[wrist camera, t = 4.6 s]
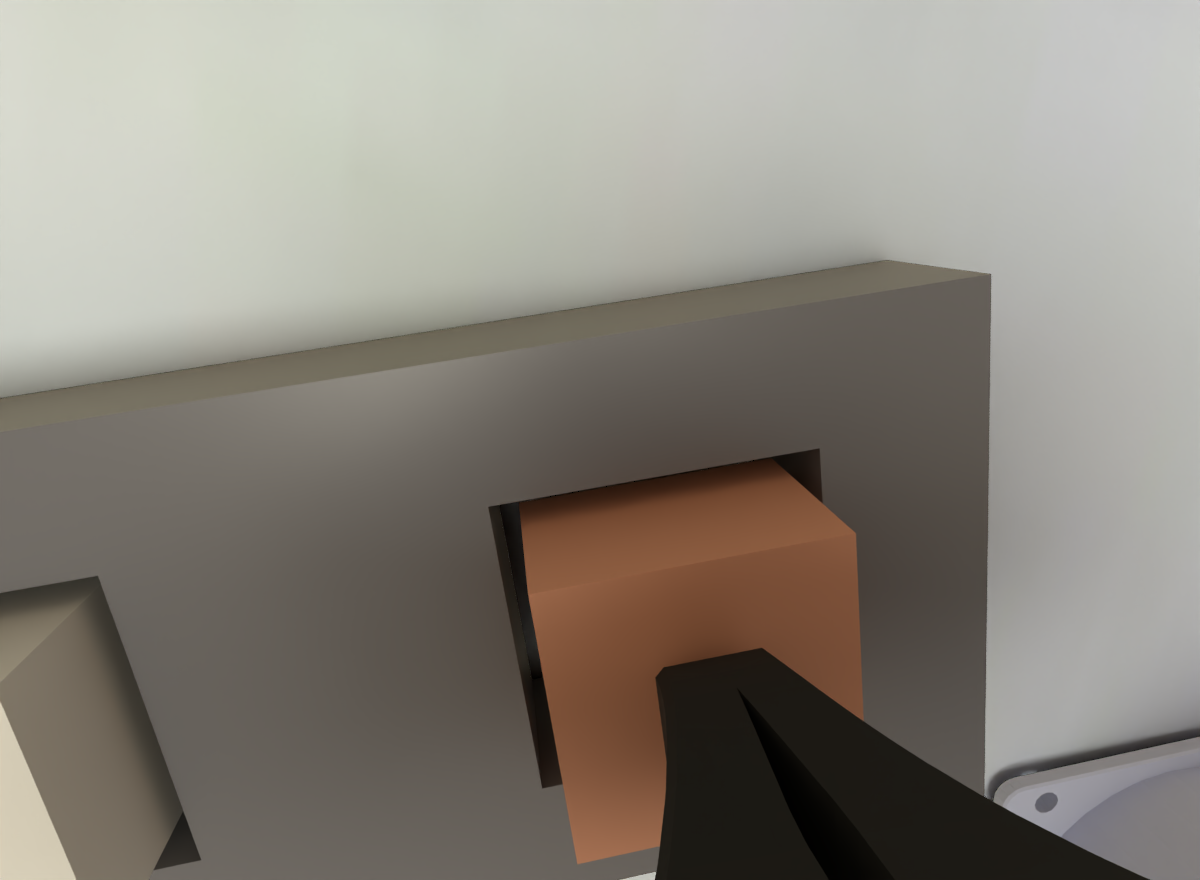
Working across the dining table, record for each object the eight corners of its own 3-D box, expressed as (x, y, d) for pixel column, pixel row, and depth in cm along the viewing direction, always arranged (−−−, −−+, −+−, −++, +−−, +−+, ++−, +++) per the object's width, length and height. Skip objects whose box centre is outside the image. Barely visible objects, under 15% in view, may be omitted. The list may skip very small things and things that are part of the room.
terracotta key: (771, 457, 12) (855, 532, 10) (787, 675, 14) (866, 800, 11) (518, 502, 12) (528, 593, 9) (558, 722, 13) (577, 863, 10)
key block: (887, 260, 14) (990, 274, 11) (898, 696, 16) (984, 798, 14) (-358, 454, 12) (-624, 531, 9) (-119, 907, 15) (-265, 1076, 12)
